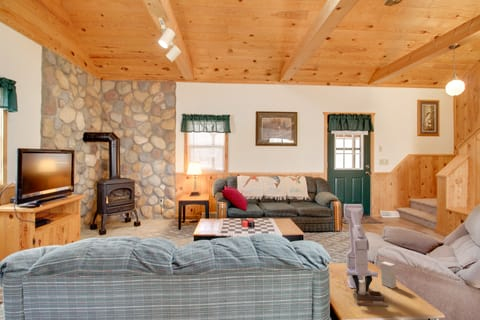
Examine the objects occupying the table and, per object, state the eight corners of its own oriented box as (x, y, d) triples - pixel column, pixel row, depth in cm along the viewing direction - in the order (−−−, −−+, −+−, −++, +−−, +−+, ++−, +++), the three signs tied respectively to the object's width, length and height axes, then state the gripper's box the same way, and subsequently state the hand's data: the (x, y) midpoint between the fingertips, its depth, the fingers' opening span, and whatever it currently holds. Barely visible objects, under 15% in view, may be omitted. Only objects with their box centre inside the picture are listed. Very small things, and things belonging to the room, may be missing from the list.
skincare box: (396, 286, 151) (396, 264, 151) (391, 288, 149) (391, 265, 149) (385, 282, 156) (385, 260, 156) (380, 284, 154) (380, 262, 154)
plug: (357, 292, 140) (357, 279, 140) (365, 292, 139) (365, 280, 139) (358, 295, 137) (358, 283, 137) (366, 296, 136) (366, 283, 136)
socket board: (353, 295, 142) (352, 289, 142) (380, 297, 140) (380, 291, 140) (357, 304, 133) (357, 298, 133) (387, 306, 131) (386, 300, 131)
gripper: (347, 265, 135) (348, 293, 135) (379, 266, 133) (380, 295, 133) (344, 260, 142) (345, 287, 142) (375, 261, 140) (375, 288, 140)
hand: (361, 290), depth 138 cm, fingers closed on plug, 4 cm apart
